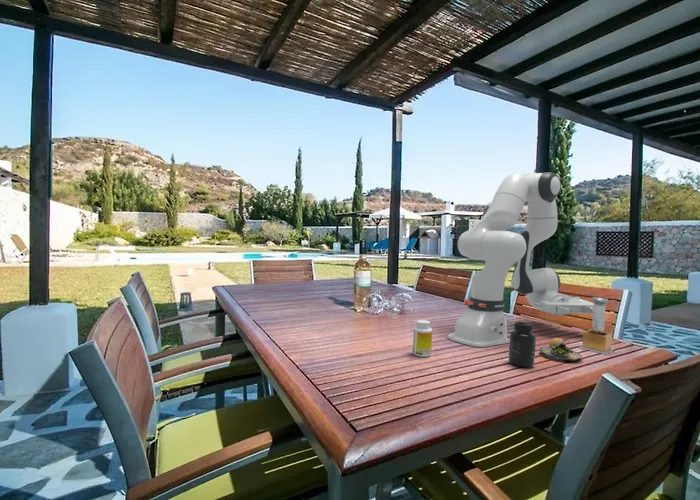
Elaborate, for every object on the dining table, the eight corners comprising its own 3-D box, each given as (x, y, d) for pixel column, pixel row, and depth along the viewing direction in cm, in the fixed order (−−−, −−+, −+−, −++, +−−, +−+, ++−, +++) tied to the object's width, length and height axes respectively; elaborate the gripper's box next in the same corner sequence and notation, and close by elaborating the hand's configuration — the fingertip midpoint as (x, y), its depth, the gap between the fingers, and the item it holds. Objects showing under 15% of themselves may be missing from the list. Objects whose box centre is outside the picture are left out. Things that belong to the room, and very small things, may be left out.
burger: (566, 366, 109) (568, 341, 109) (530, 354, 120) (532, 331, 119) (590, 361, 115) (592, 337, 114) (554, 350, 125) (555, 328, 125)
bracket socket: (606, 354, 121) (607, 337, 121) (579, 348, 127) (580, 331, 127) (614, 350, 127) (615, 334, 126) (587, 344, 133) (588, 328, 132)
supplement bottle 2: (538, 369, 105) (541, 327, 105) (514, 368, 105) (516, 326, 105) (527, 360, 112) (530, 321, 111) (504, 359, 112) (507, 320, 112)
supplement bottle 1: (434, 356, 113) (436, 322, 112) (419, 358, 110) (421, 324, 110) (423, 350, 118) (425, 318, 117) (408, 352, 115) (410, 319, 115)
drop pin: (602, 350, 124) (605, 300, 123) (586, 346, 127) (589, 297, 126) (606, 348, 127) (610, 298, 126) (591, 344, 130) (594, 296, 129)
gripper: (532, 295, 147) (555, 302, 134) (581, 296, 149) (608, 303, 135) (531, 311, 148) (554, 319, 134) (580, 312, 150) (607, 320, 136)
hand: (581, 311), depth 135 cm, fingers open, 8 cm apart
